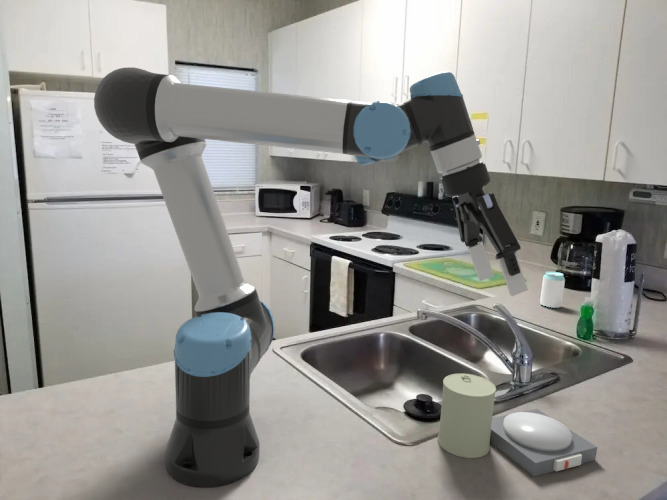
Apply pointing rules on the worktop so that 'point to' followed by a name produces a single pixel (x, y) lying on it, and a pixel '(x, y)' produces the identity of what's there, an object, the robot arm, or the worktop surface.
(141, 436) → the worktop surface
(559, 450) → the scale
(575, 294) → the worktop surface
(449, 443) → the can
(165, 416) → the worktop surface
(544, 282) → the can
